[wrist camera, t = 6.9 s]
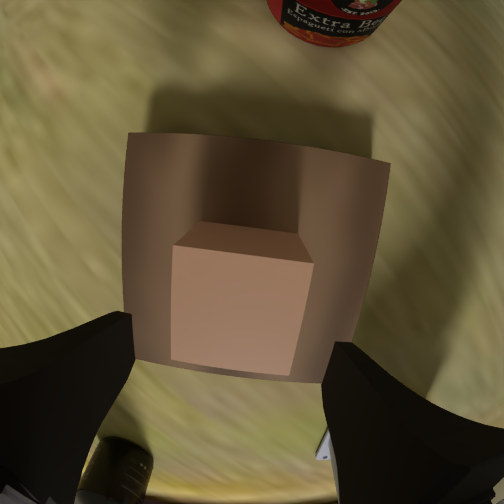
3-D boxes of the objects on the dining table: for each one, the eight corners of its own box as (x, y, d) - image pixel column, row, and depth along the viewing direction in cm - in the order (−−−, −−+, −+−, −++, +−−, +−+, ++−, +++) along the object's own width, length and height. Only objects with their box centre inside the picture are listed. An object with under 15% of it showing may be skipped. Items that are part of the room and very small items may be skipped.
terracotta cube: (297, 233, 15) (314, 263, 10) (282, 320, 16) (289, 375, 12) (201, 221, 15) (173, 245, 10) (194, 308, 16) (171, 359, 12)
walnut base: (371, 163, 17) (390, 163, 14) (329, 358, 20) (337, 383, 18) (148, 137, 17) (128, 132, 14) (143, 334, 21) (128, 357, 18)
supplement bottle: (122, 467, 27) (94, 538, 15) (90, 433, 25) (50, 508, 13) (166, 469, 26) (143, 551, 14) (134, 434, 24) (96, 524, 13)
